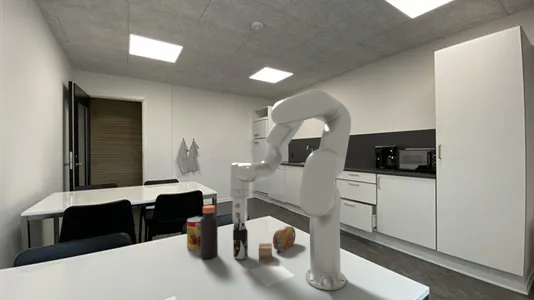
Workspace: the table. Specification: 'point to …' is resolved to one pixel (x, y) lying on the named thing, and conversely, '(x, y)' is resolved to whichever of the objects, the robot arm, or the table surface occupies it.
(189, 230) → the canned food
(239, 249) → the beverage can
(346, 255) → the table surface
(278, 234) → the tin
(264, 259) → the tan cube
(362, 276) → the table surface
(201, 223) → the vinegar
